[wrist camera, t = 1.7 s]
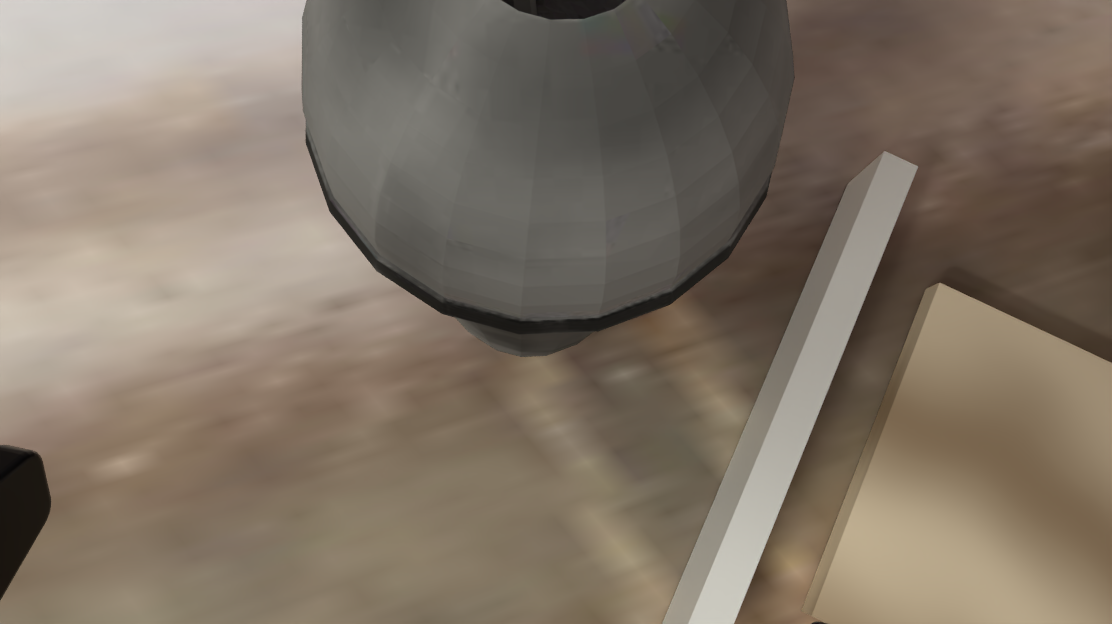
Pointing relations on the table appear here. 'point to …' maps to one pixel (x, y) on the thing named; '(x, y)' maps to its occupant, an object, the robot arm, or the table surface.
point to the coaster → (978, 482)
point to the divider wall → (791, 397)
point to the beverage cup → (545, 149)
